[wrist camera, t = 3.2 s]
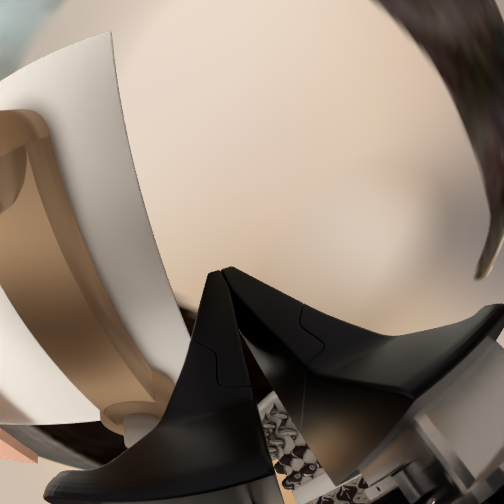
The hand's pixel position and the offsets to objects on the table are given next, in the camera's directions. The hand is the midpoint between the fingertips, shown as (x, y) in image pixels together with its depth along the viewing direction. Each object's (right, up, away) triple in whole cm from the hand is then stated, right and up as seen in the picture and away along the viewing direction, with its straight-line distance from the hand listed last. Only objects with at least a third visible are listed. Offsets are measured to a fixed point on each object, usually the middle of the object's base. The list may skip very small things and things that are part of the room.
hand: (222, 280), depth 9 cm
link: (-6, -2, 0) cm, 6 cm away
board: (-13, -3, -1) cm, 14 cm away
